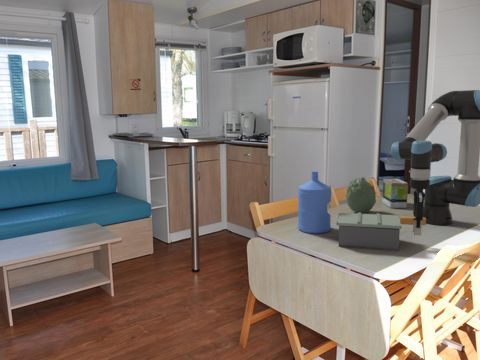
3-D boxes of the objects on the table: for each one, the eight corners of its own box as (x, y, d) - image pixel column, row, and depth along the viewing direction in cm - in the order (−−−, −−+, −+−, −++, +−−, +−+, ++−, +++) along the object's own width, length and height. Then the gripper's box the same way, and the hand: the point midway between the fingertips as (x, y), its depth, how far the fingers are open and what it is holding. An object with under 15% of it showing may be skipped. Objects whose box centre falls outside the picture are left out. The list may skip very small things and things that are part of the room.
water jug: (309, 235, 197) (309, 175, 192) (291, 227, 211) (292, 171, 206) (337, 231, 203) (338, 173, 198) (318, 223, 217) (319, 168, 212)
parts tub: (396, 239, 190) (397, 219, 188) (398, 250, 175) (399, 229, 173) (340, 235, 197) (341, 216, 195) (338, 246, 182) (339, 225, 180)
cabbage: (379, 210, 239) (381, 175, 236) (369, 218, 224) (370, 181, 220) (352, 207, 248) (353, 173, 245) (340, 214, 233) (341, 178, 229)
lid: (422, 219, 186) (422, 213, 185) (427, 230, 170) (428, 223, 169) (338, 215, 196) (338, 209, 195) (336, 225, 180) (336, 219, 179)
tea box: (407, 208, 245) (408, 182, 242) (389, 208, 245) (391, 183, 243) (398, 202, 260) (399, 178, 257) (381, 202, 260) (382, 178, 257)
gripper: (408, 175, 184) (405, 227, 188) (412, 181, 169) (409, 238, 173) (427, 175, 182) (424, 228, 186) (432, 182, 167) (429, 240, 171)
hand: (416, 233), depth 179 cm, fingers closed on lid, 3 cm apart
